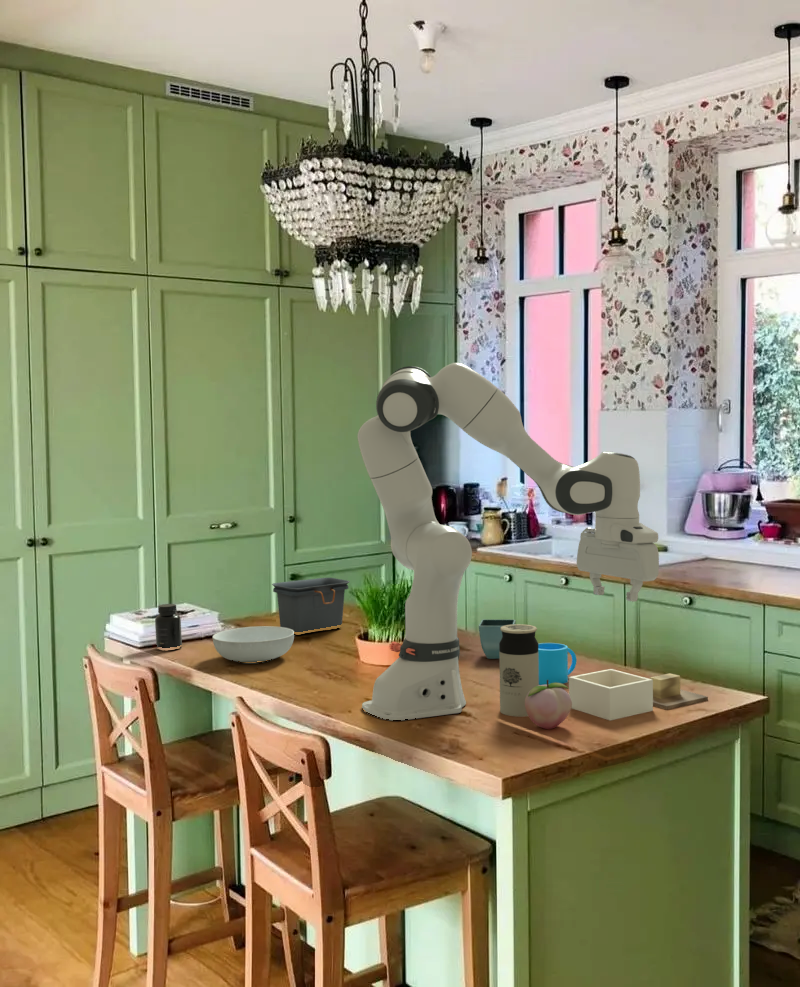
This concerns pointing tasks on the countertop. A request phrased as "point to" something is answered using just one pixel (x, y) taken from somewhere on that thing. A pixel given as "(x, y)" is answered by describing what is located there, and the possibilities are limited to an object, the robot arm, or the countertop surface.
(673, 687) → the lid
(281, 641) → the serving bowl
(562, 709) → the decorative fruit
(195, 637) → the countertop surface
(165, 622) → the supplement bottle
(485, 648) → the flower pot
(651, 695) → the box
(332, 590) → the storage bin
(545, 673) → the mug
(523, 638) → the travel mug
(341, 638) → the countertop surface
